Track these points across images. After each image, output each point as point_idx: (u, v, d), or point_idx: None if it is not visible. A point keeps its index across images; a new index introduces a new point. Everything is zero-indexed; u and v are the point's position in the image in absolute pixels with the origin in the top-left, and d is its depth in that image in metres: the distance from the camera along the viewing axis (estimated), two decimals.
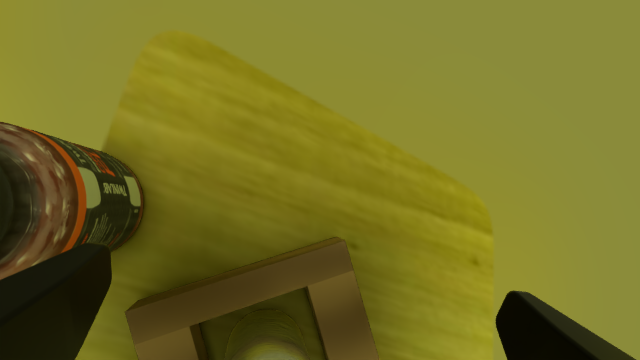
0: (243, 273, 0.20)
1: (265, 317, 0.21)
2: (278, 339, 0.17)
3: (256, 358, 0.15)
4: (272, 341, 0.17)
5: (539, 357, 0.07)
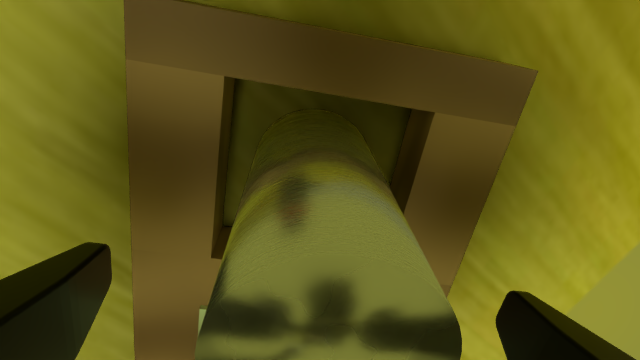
0: (348, 35, 0.11)
1: (341, 125, 0.12)
2: (372, 171, 0.09)
3: (345, 188, 0.07)
4: (365, 170, 0.09)
5: (539, 357, 0.07)
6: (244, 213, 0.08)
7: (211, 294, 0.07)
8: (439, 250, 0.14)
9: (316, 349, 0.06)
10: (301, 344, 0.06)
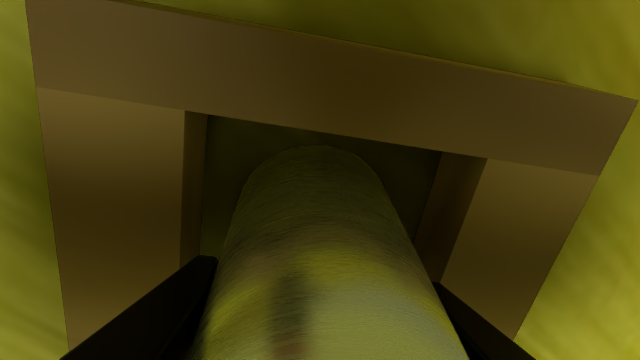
0: (367, 50, 0.07)
1: (354, 172, 0.09)
2: (410, 267, 0.06)
3: (377, 345, 0.04)
4: (400, 271, 0.06)
5: None
6: None
7: None
8: None
9: None
10: None
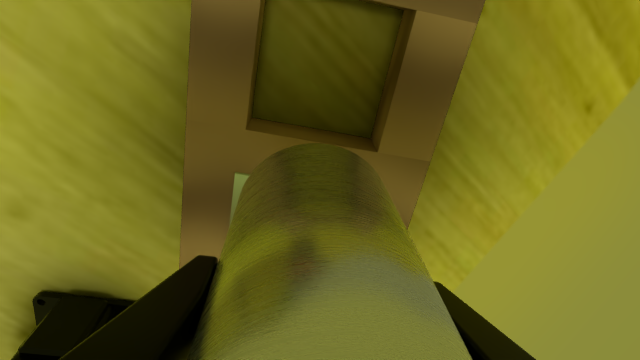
0: None
1: (355, 170, 0.09)
2: (411, 265, 0.06)
3: (378, 342, 0.04)
4: (401, 269, 0.06)
5: None
6: None
7: None
8: (420, 128, 0.18)
9: None
10: None
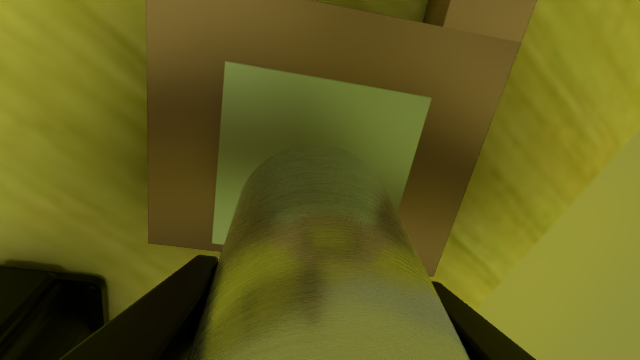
0: None
1: (354, 172, 0.09)
2: (410, 268, 0.06)
3: (377, 346, 0.04)
4: (401, 272, 0.06)
5: None
6: None
7: None
8: None
9: None
10: None
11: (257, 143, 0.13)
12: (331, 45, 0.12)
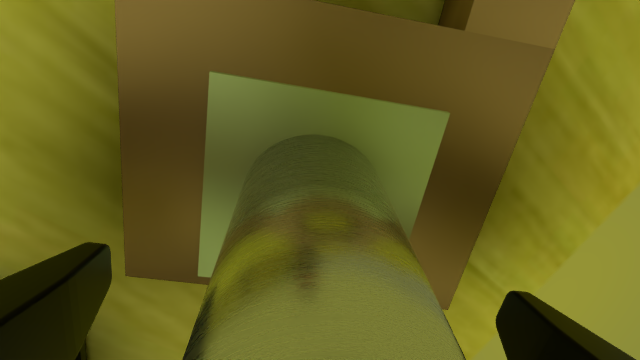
0: None
1: (348, 158, 0.10)
2: (393, 235, 0.07)
3: (358, 286, 0.05)
4: (384, 237, 0.06)
5: (539, 357, 0.07)
6: (208, 313, 0.05)
7: None
8: None
9: None
10: None
11: (249, 165, 0.11)
12: (333, 52, 0.10)
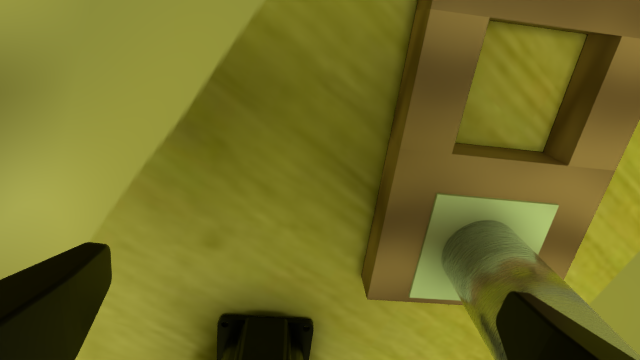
0: None
1: (515, 237, 0.19)
2: (564, 281, 0.16)
3: (574, 305, 0.14)
4: (564, 283, 0.16)
5: (539, 357, 0.07)
6: None
7: None
8: (610, 141, 0.19)
9: None
10: None
11: (449, 237, 0.21)
12: (500, 180, 0.20)
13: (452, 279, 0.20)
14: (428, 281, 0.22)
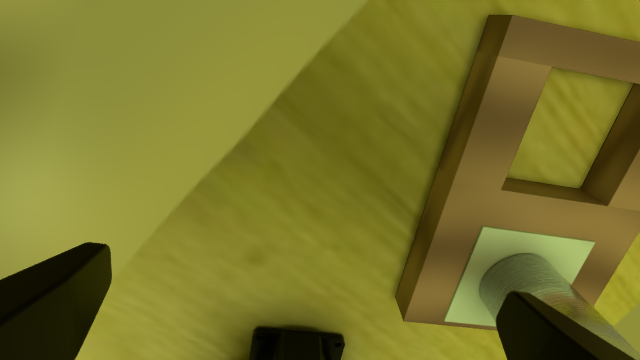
0: (632, 41, 0.17)
1: (557, 273, 0.20)
2: None
3: (627, 352, 0.15)
4: (611, 327, 0.17)
5: (539, 357, 0.07)
6: None
7: None
8: None
9: None
10: None
11: (489, 267, 0.22)
12: (542, 216, 0.21)
13: (493, 309, 0.21)
14: (464, 307, 0.23)
